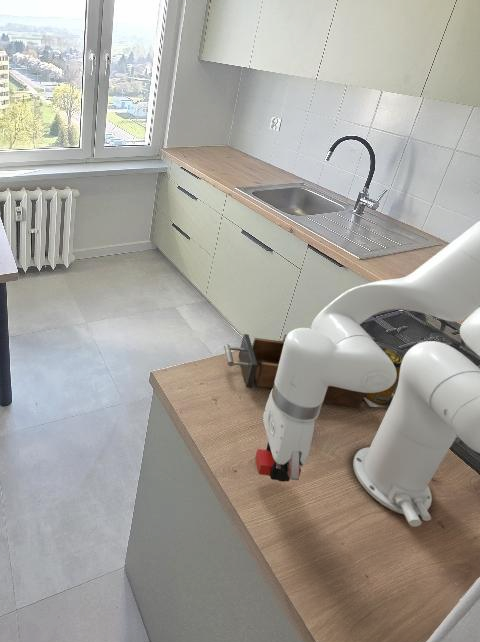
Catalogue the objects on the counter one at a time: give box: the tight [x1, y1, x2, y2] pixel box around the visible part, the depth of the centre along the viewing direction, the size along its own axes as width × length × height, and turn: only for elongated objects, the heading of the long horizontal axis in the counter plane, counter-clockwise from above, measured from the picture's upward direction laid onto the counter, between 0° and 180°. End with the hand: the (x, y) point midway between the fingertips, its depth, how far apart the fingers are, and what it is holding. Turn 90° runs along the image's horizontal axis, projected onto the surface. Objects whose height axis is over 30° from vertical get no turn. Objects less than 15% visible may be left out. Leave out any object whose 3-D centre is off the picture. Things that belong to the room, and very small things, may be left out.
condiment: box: [363, 348, 403, 408], centre depth 97 cm, size 7×8×12 cm
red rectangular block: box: [254, 448, 302, 477], centre depth 77 cm, size 7×3×3 cm, turn 82°
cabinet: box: [282, 334, 366, 409], centre depth 100 cm, size 16×12×9 cm
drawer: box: [223, 333, 284, 389], centre depth 101 cm, size 19×10×7 cm, turn 83°
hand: (276, 467), depth 77 cm, fingers closed on red rectangular block, 3 cm apart
